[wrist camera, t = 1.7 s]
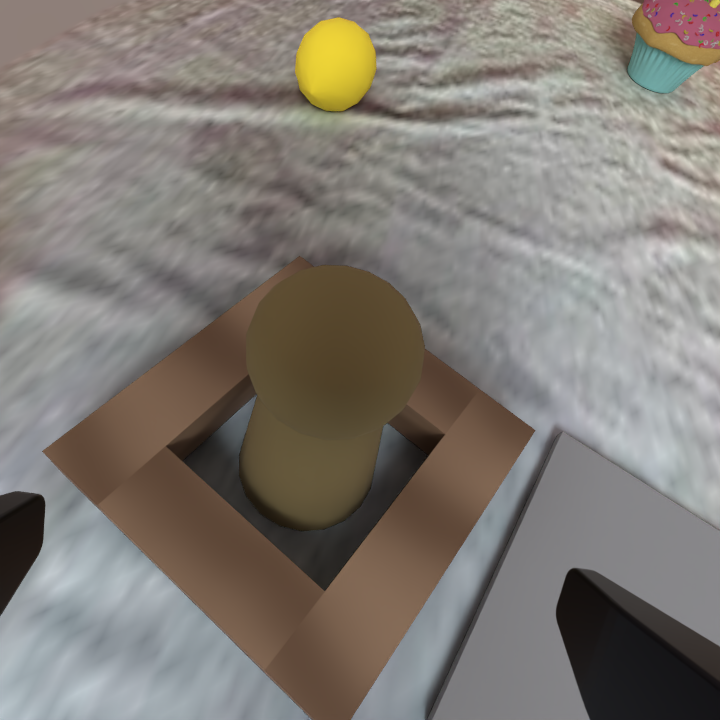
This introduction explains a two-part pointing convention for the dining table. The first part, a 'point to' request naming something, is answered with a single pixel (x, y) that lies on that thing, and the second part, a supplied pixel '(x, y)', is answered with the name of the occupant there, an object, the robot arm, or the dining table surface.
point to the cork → (324, 391)
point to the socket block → (251, 548)
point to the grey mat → (547, 574)
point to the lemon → (335, 64)
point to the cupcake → (673, 41)
